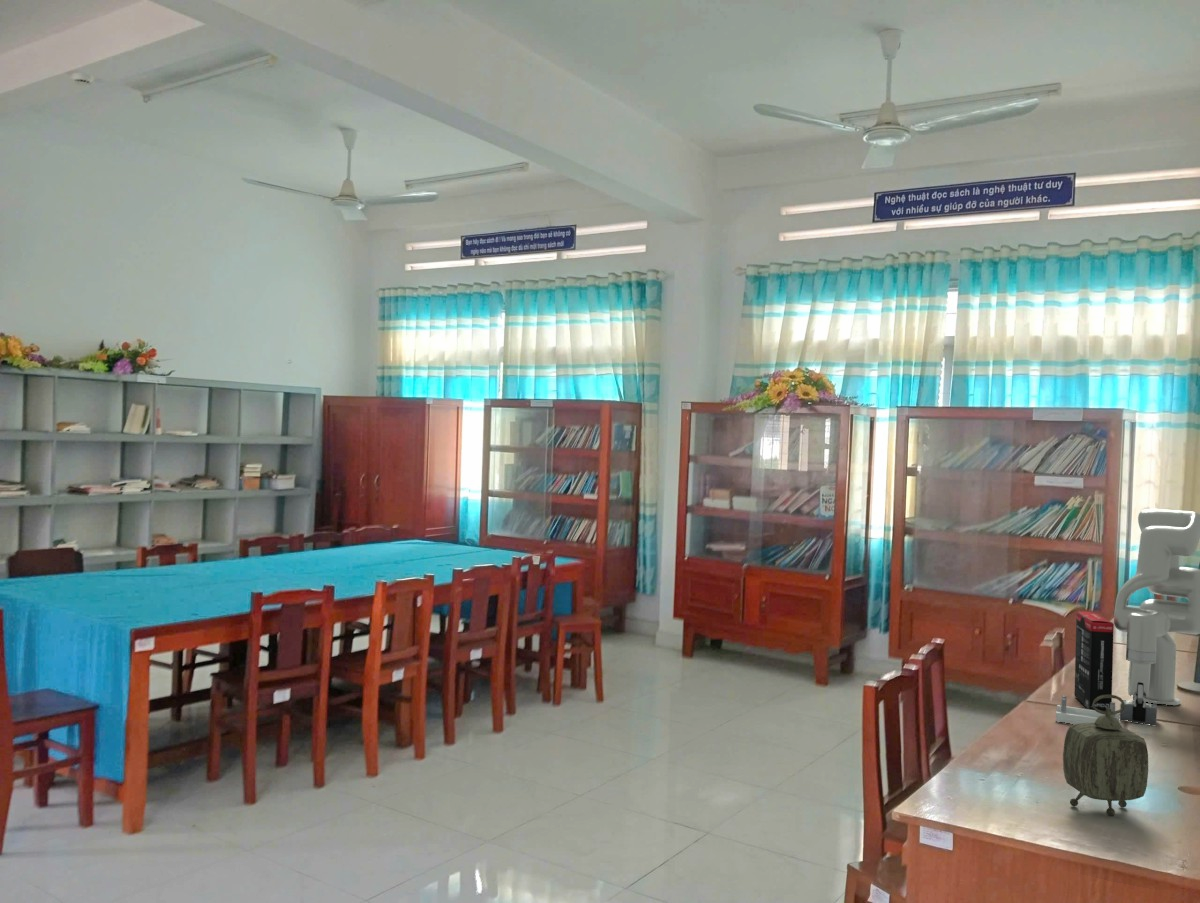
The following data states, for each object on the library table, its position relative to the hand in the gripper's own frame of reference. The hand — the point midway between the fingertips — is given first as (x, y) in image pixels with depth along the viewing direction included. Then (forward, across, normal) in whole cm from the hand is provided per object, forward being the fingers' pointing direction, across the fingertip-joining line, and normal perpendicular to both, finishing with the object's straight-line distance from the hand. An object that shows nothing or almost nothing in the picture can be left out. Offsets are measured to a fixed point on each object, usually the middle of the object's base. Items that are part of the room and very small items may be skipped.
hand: (1138, 717), depth 278 cm
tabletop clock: (+1, +86, -9) cm, 86 cm away
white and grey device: (+1, +10, -13) cm, 16 cm away
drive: (+1, 0, 0) cm, 1 cm away
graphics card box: (+1, -12, -12) cm, 17 cm away
